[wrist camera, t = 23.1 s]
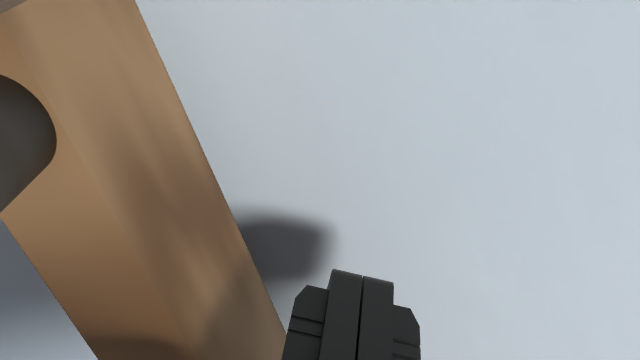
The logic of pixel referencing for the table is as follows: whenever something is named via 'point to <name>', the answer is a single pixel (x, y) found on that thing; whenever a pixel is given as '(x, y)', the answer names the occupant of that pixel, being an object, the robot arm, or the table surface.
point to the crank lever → (120, 191)
